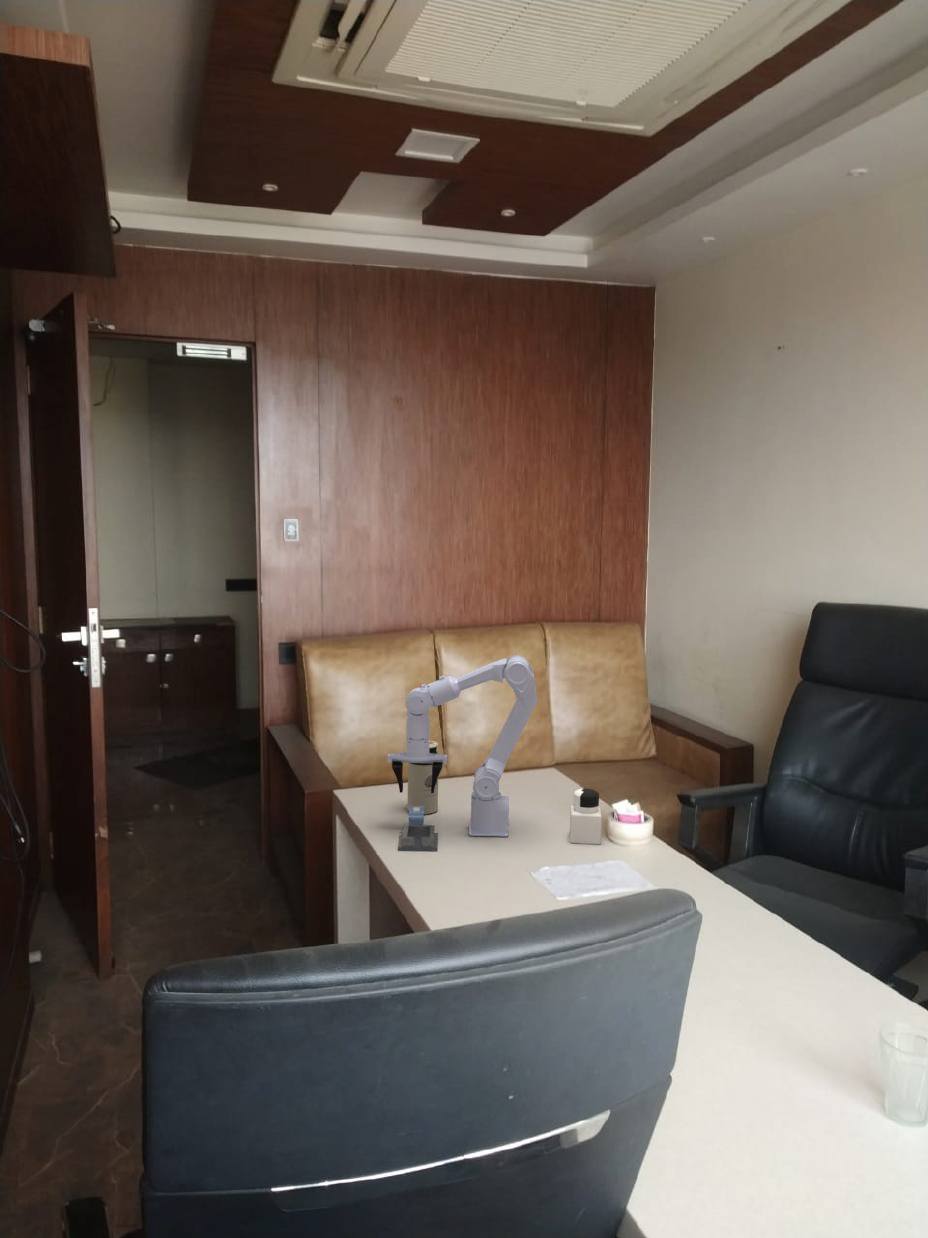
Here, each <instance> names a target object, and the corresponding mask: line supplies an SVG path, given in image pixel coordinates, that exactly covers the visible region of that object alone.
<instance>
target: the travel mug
mask: <svg viewBox="0 0 928 1238" xmlns="http://www.w3.org/2000/svg"><path fill="white" fill-rule="evenodd" d="M438 746H439V743H438V742H437V741H434V740H430V739H429V753H433V754H439V753H438V751H437V748H438ZM432 764H433V763H407V811H408V812H409V808H410V806H424V814H426V815H431V813H432V814H434V813H435V812H438V810H439V805H438V804H439V777H438V778H437V781H436V784H435V788H434V793H431V785H432Z"/></svg>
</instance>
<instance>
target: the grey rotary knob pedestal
mask: <svg viewBox="0 0 928 1238" xmlns="http://www.w3.org/2000/svg"><path fill="white" fill-rule="evenodd" d="M599 805H600V793H599V792H598V791H596V790H594V789H592V788H579V789H576V790H575V791H574V792H573V805H572V804H571V805H570V817H569V818H570V819H569V842H570V844H582V845H583V844H585V845H601V843H602V842H601V839H602V838H601V837H602V819H603V818H602V812H601V811H602V810H601V807H600V806H599Z"/></svg>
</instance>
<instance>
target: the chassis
mask: <svg viewBox="0 0 928 1238" xmlns="http://www.w3.org/2000/svg"><path fill="white" fill-rule="evenodd" d="M435 829H436V827H435V825H433V824H432V825H430V824H427V825H426V824H424V825H409V824H405V825H404V826H403V831H401V832H400V835H399V841H398V845H397V846H398V847H397V850H398V852H399V851H403V852H405V851H406V852H407V851H408V852H413V851H414V852H438V844H439V832H435Z"/></svg>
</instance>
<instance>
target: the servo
mask: <svg viewBox="0 0 928 1238" xmlns="http://www.w3.org/2000/svg"><path fill="white" fill-rule="evenodd" d="M408 825H425V815H424V806H410V808H409V811H408Z"/></svg>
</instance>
